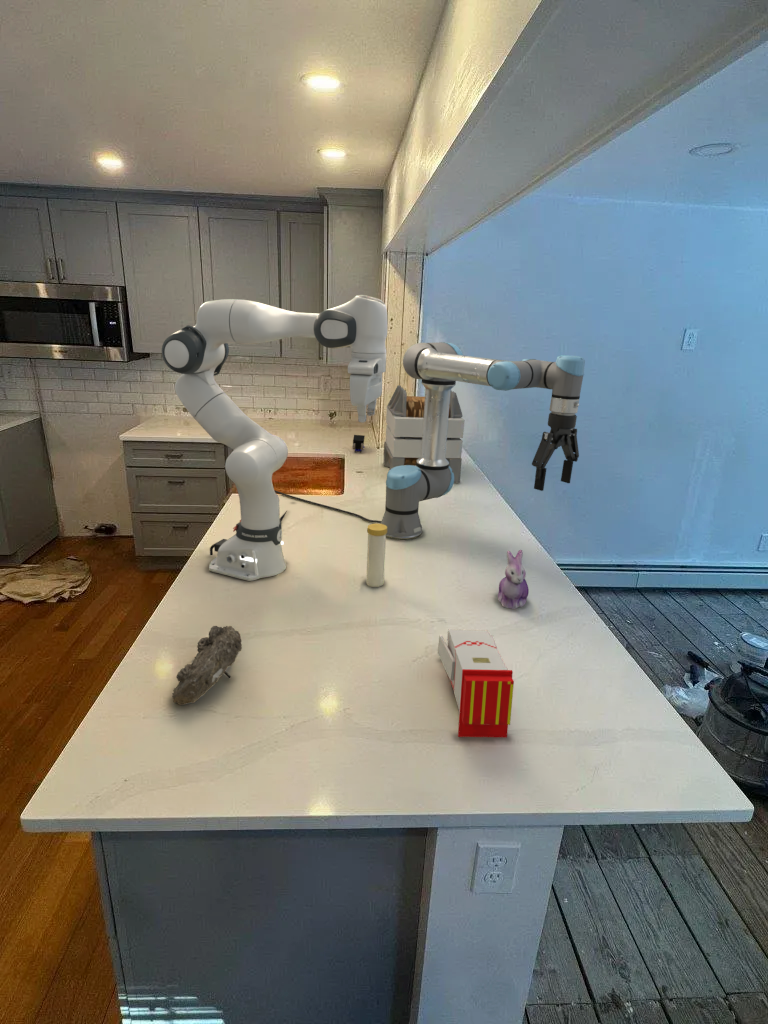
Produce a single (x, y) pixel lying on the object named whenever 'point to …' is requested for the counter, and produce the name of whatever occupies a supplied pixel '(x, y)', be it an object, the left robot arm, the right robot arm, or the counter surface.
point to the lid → (377, 529)
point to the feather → (282, 516)
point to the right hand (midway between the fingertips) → (552, 485)
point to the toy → (478, 682)
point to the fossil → (207, 664)
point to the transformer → (419, 431)
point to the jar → (376, 560)
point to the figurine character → (358, 442)
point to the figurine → (513, 583)
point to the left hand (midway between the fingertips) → (366, 418)
